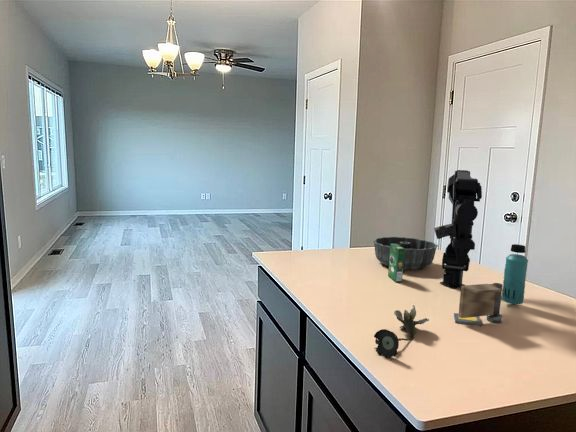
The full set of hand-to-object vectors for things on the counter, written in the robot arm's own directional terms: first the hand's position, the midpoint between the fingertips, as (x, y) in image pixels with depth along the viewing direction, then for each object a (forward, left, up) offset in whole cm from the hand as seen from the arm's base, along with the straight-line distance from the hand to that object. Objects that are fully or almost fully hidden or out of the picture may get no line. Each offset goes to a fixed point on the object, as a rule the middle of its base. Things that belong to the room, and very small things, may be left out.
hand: (459, 264), depth 141 cm
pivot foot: (+4, +17, -12) cm, 21 cm away
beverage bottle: (-13, +11, -12) cm, 21 cm away
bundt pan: (-15, -41, -12) cm, 45 cm away
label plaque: (+11, +14, -12) cm, 21 cm away
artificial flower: (+38, +15, -12) cm, 43 cm away
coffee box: (+3, -26, -12) cm, 29 cm away
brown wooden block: (+9, +18, -10) cm, 23 cm away
